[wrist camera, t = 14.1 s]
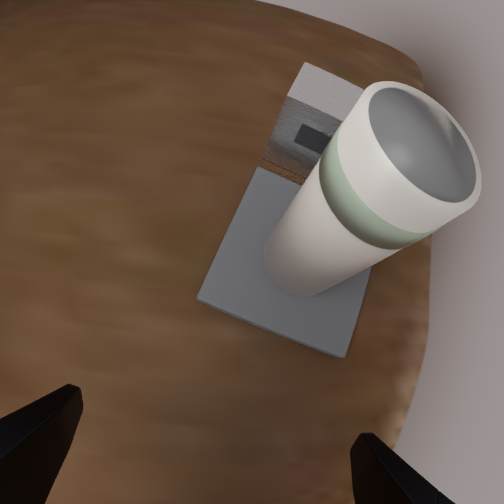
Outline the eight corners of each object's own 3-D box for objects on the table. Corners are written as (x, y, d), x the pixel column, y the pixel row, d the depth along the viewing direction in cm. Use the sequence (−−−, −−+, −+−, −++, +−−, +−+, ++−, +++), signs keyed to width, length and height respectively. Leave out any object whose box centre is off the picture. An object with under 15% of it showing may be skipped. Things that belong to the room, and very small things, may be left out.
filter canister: (343, 292, 21) (500, 213, 8) (268, 302, 19) (391, 215, 7) (328, 220, 22) (446, 95, 10) (256, 223, 21) (336, 69, 9)
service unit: (378, 216, 24) (430, 174, 17) (261, 160, 24) (285, 97, 17) (386, 174, 26) (432, 129, 19) (280, 122, 25) (305, 60, 19)
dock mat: (338, 357, 20) (344, 358, 19) (196, 300, 20) (196, 298, 19) (374, 230, 24) (381, 225, 23) (255, 173, 23) (257, 166, 22)
